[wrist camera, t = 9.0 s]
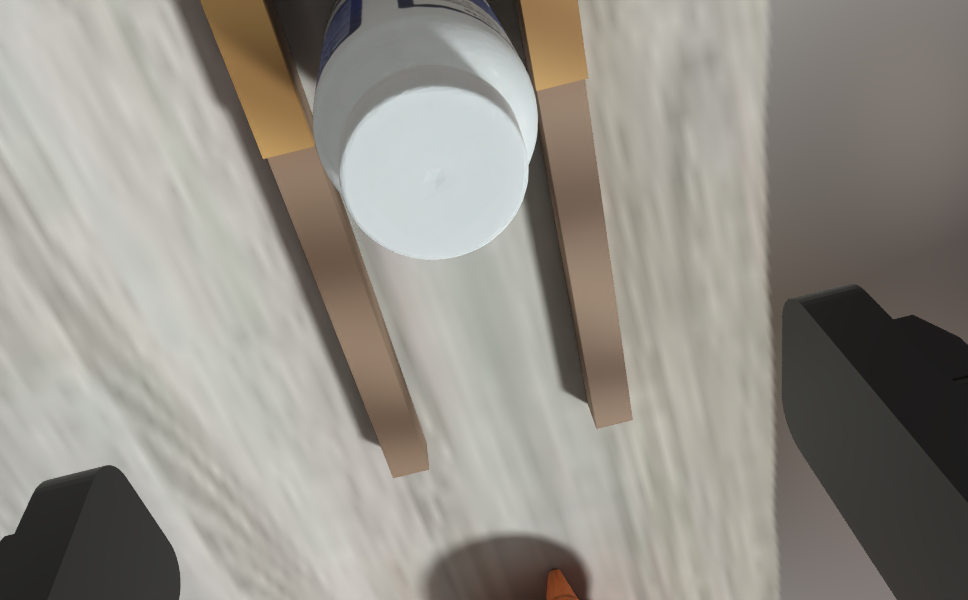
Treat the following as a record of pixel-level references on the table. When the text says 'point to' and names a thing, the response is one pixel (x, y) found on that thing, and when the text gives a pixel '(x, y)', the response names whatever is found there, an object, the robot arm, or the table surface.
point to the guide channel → (331, 242)
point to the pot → (559, 587)
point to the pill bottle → (424, 122)
